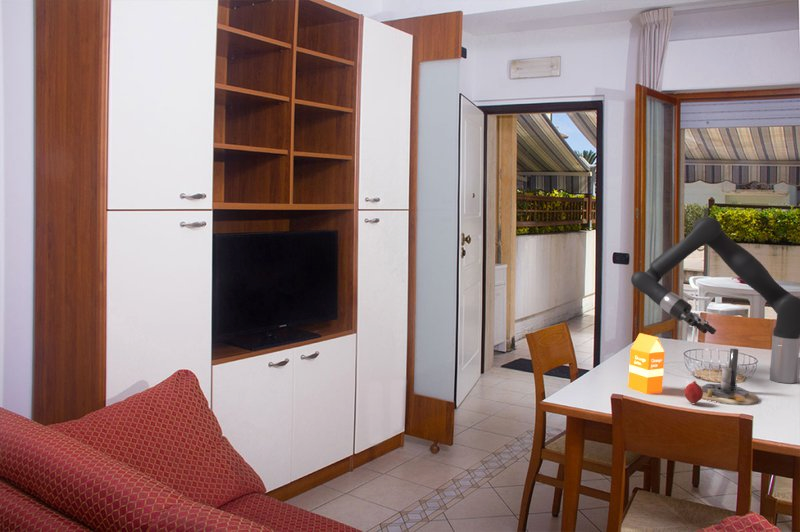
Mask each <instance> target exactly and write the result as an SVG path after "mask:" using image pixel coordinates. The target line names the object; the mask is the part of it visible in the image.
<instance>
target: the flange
mask: <svg viewBox="0 0 800 532" xmlns="http://www.w3.org/2000/svg"><path fill="white" fill-rule="evenodd" d="M729 350H730V352H729V363H728V368H731V369H732V370H731V383H730V391H723V390H721V383H706V384H705V385H704V386H703V385H702V386H703V387H702V391H704V392H706V393H708V389H712V395H714V396H719V397H724V398H733V399H735V400H737V401H745V397H747V396H748V395H749V392H750V391H749V390H747V389H745V388H742V387H740V386H738V384H737V375H738V374H737V373H738V372H737V370H738V360H739V349H738V348H730V349H729Z"/></svg>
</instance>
